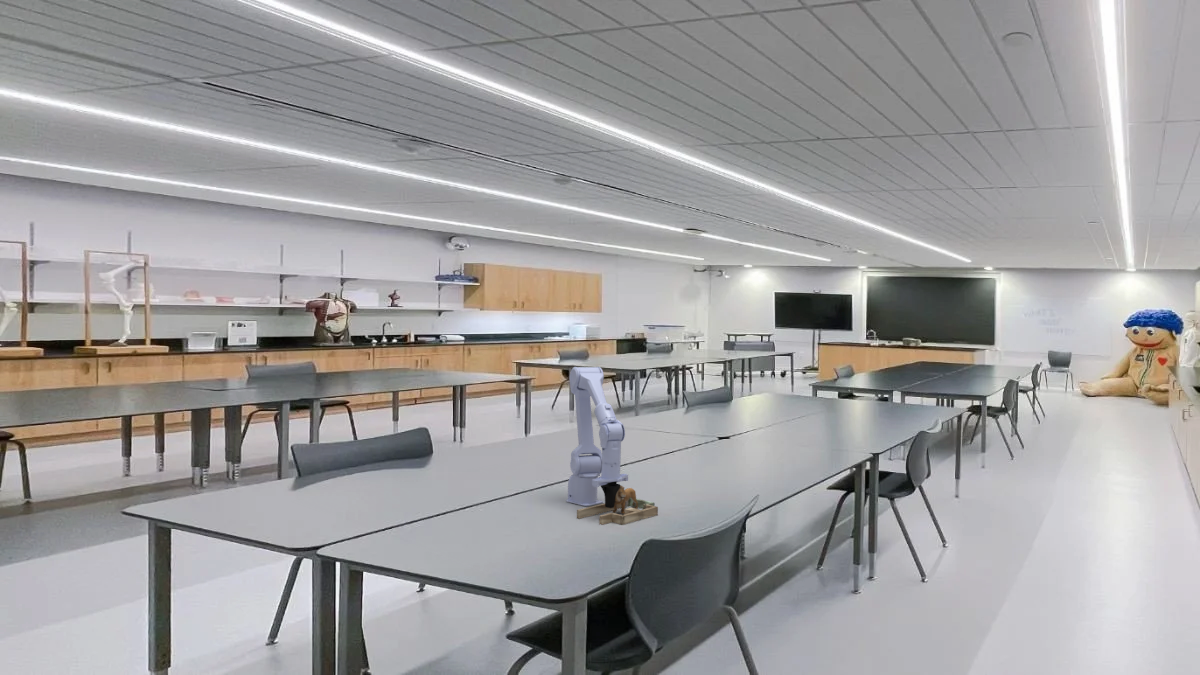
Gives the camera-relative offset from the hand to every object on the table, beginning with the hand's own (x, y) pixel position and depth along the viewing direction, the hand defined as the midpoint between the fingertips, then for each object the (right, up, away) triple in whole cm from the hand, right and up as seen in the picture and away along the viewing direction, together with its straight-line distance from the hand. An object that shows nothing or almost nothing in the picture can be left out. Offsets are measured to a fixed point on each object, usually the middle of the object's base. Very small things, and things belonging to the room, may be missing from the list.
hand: (609, 507), depth 238 cm
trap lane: (+4, -3, +2) cm, 5 cm away
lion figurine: (+5, -3, +6) cm, 8 cm away
